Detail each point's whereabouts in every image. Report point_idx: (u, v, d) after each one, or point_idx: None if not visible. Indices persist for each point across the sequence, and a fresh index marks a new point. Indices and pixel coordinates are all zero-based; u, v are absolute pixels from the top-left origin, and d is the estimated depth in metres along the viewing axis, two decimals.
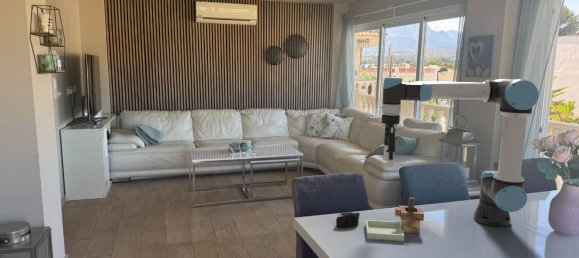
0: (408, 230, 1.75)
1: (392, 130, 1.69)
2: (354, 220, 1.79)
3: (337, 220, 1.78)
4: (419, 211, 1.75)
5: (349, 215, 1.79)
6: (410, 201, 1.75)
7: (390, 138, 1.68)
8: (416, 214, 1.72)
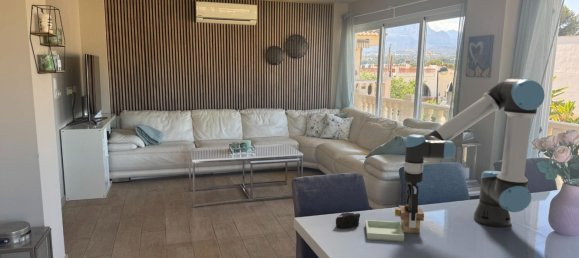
0: (408, 230, 1.75)
1: (415, 192, 1.68)
2: (354, 221, 1.79)
3: (336, 220, 1.78)
4: (419, 211, 1.75)
5: (349, 216, 1.78)
6: None
7: (413, 200, 1.68)
8: None
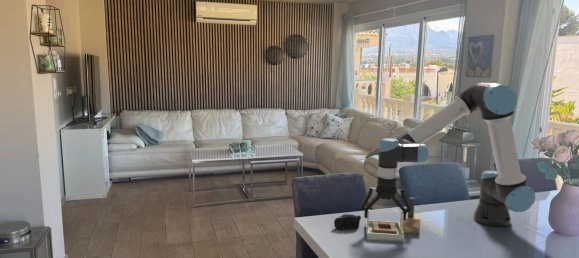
0: (408, 230, 1.75)
1: (369, 189, 1.70)
2: (353, 223, 1.76)
3: (335, 221, 1.77)
4: (382, 229, 1.68)
5: (348, 217, 1.77)
6: (410, 201, 1.75)
7: None
8: (373, 227, 1.71)
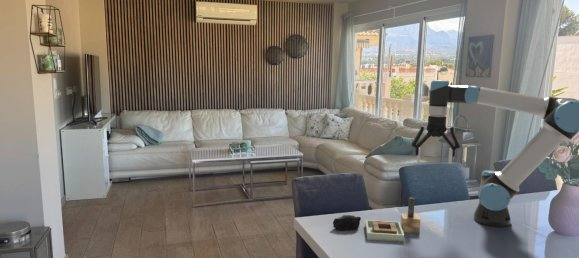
0: (408, 230, 1.75)
1: (420, 128, 1.83)
2: (352, 224, 1.75)
3: (334, 222, 1.76)
4: (382, 229, 1.68)
5: (347, 218, 1.76)
6: (410, 201, 1.75)
7: (417, 135, 1.84)
8: (373, 227, 1.71)
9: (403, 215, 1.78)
